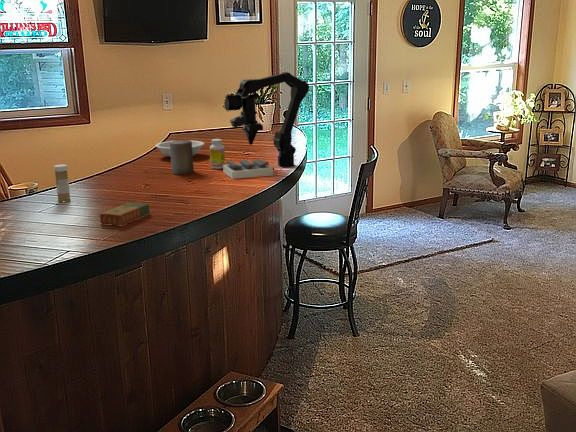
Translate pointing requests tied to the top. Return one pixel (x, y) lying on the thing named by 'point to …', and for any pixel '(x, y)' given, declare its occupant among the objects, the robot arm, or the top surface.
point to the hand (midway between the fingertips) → (250, 144)
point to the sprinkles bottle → (62, 182)
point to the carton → (124, 213)
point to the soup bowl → (165, 147)
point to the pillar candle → (181, 157)
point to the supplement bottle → (217, 154)
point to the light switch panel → (247, 171)
